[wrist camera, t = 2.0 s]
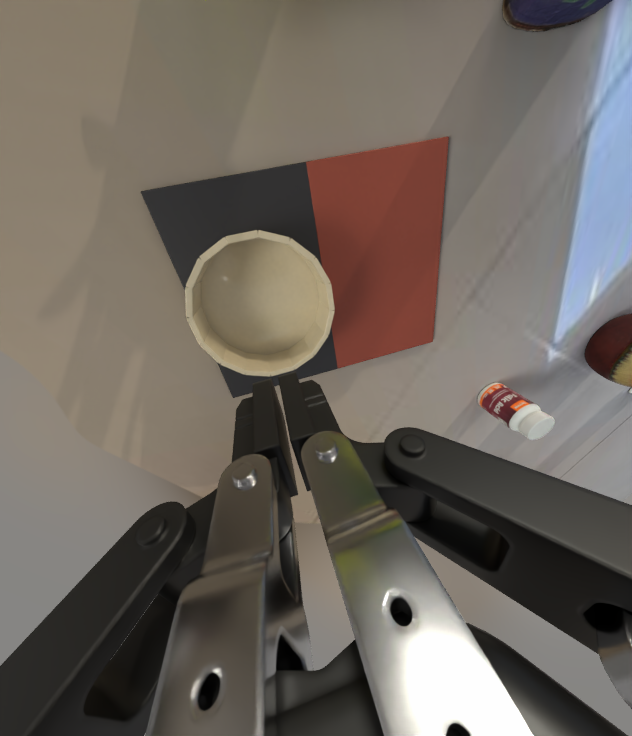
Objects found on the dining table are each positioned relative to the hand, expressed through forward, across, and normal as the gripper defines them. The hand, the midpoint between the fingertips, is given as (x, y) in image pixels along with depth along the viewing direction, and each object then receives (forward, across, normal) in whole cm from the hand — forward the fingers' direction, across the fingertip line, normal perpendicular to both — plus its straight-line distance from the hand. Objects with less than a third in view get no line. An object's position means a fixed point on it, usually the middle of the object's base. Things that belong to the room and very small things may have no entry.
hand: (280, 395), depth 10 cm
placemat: (+17, -6, 0) cm, 18 cm away
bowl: (+17, 0, 0) cm, 17 cm away
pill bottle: (+17, -31, +23) cm, 42 cm away
